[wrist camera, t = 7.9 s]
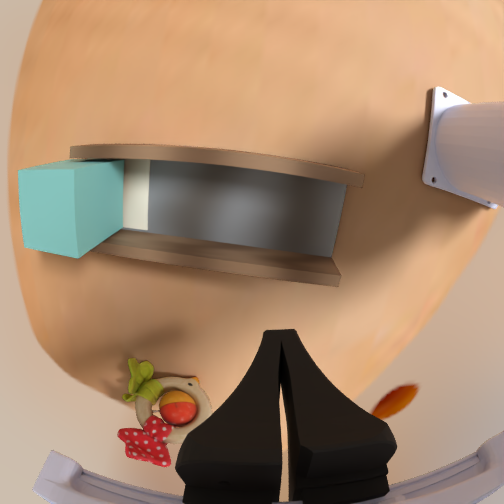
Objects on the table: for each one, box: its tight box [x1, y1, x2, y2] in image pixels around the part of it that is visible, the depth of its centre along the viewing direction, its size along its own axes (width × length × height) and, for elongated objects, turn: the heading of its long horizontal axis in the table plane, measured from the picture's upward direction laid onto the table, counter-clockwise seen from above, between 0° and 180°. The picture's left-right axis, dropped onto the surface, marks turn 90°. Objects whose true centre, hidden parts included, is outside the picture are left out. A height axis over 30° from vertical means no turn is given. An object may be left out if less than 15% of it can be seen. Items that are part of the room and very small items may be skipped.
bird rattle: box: [117, 358, 212, 467], centre depth 21 cm, size 6×11×9 cm
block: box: [18, 159, 124, 259], centre depth 15 cm, size 5×5×6 cm
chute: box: [70, 144, 365, 287], centre depth 18 cm, size 19×7×4 cm, turn 83°
